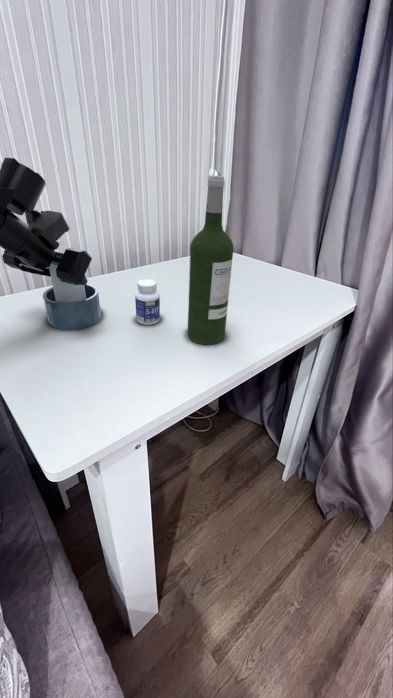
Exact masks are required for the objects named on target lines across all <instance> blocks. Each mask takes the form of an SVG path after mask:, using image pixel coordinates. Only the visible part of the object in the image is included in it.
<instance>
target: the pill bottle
mask: <svg viewBox="0 0 393 698" xmlns="http://www.w3.org/2000/svg"><path fill="white" fill-rule="evenodd" d="M157 285H158V284H157V281H156V280H154V279H148V278H146V279H145V278H144V279H140V280H138V281H137V291H136V292H135V295H134V299H135V317H136V319H135V320H136V321H137V322H138V323H139V324H141V325H145V326H146V325H155V324H157V323H158V322H160V320H161V301H160V300H161V296H160V292H159V291H158V290H157V288H158V287H157Z"/></svg>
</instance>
